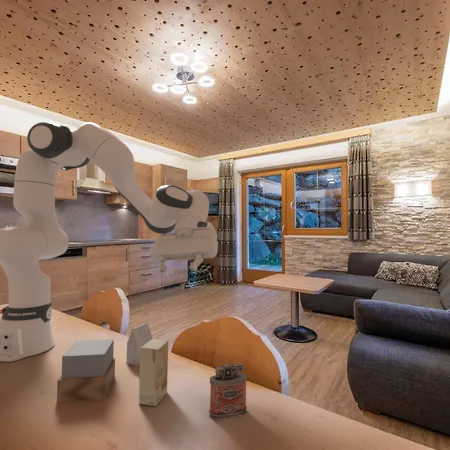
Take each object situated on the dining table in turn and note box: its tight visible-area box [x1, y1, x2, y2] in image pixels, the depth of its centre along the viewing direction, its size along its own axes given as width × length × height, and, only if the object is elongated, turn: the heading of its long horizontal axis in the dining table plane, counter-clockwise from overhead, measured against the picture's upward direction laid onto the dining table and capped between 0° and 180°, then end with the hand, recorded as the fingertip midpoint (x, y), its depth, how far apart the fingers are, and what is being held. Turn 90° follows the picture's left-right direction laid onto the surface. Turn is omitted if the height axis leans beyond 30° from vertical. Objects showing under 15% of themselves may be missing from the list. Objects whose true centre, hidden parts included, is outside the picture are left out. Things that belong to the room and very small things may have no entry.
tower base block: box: [56, 357, 116, 403], centre depth 68 cm, size 10×10×5 cm
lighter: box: [208, 362, 248, 420], centre depth 60 cm, size 8×3×10 cm, turn 105°
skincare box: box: [138, 338, 169, 407], centre depth 65 cm, size 6×4×12 cm
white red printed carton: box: [126, 322, 153, 366], centre depth 84 cm, size 4×7×10 cm, turn 157°
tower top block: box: [61, 339, 115, 379], centre depth 68 cm, size 9×9×5 cm
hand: (177, 270), depth 77 cm, fingers open, 8 cm apart
